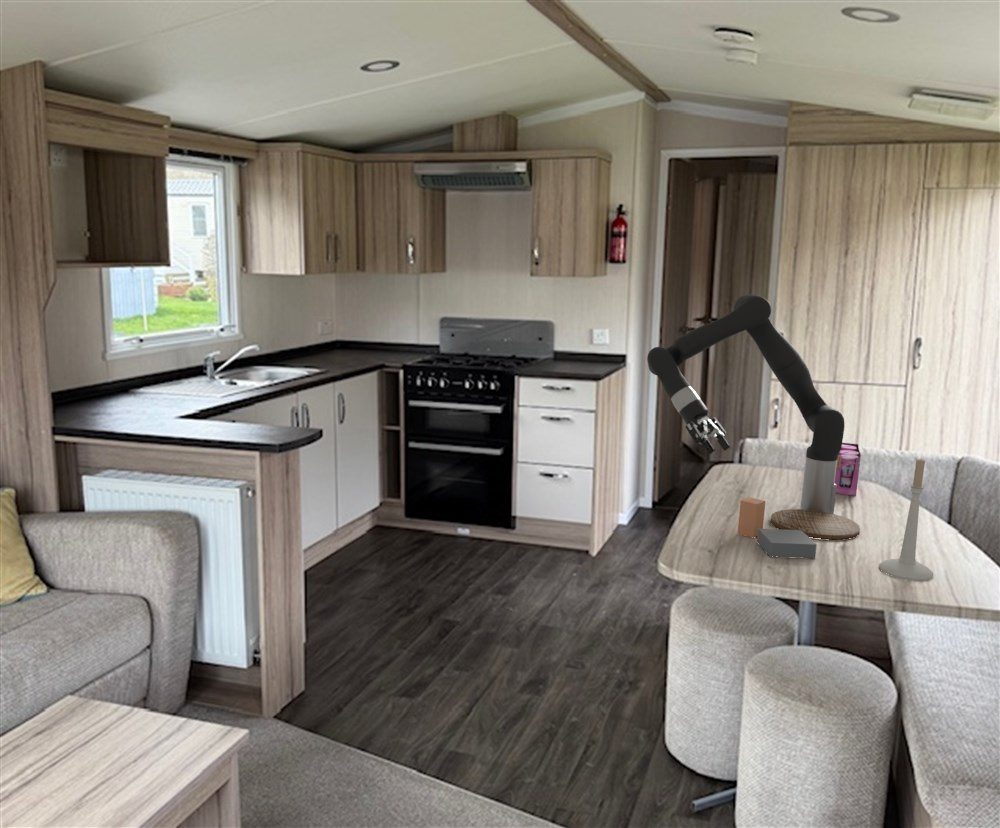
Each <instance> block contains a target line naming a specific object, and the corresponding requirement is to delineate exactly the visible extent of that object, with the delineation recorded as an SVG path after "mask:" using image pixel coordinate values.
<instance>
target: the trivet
mask: <svg viewBox="0 0 1000 828" xmlns="http://www.w3.org/2000/svg"><path fill="white" fill-rule="evenodd" d="M771 523H772V524H773V525H774V526H775V529H777V528H778V529H782V530H802V531H803V532H804V533H805V534H806V535H807V536H808V537H813V538H821V539H829V540H828V541H844V540H843V539H848V540H850V539H849V538H852V539H854V538H853V537H855V538H857V537H858V536H859V535H860V530H861V527H860V525H859V524H858V523H857V521H854V520H852V519H850V518H848V517H845V516H842V515H839V514H835V513H834V514H831V513H826V512H821V511H814V510H802V509H800V508H798V509H797V508H796V509H780V510H778V511H774V512H773V513H771V515H770V524H771ZM772 524H771V525H772ZM773 525H772V526H773ZM774 526H773V527H774ZM857 535H858V536H857ZM856 536H857V537H856Z"/></svg>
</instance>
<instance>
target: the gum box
mask: <svg viewBox="0 0 1000 828" xmlns="http://www.w3.org/2000/svg"><path fill="white" fill-rule="evenodd" d="M859 447H860V446H859V444H857V443H849V442H842V447H841V450H840V452H839V454H838V458H837V466H836V475H835V484H836V485H837V489H836V494H838V495H840V494H841V495H846V496H847V495H848V496H854V497H856V496H857V490H858V483H859V473H860V464H861V459H862V458H861V457H862V455H861V452H860V448H859Z"/></svg>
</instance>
